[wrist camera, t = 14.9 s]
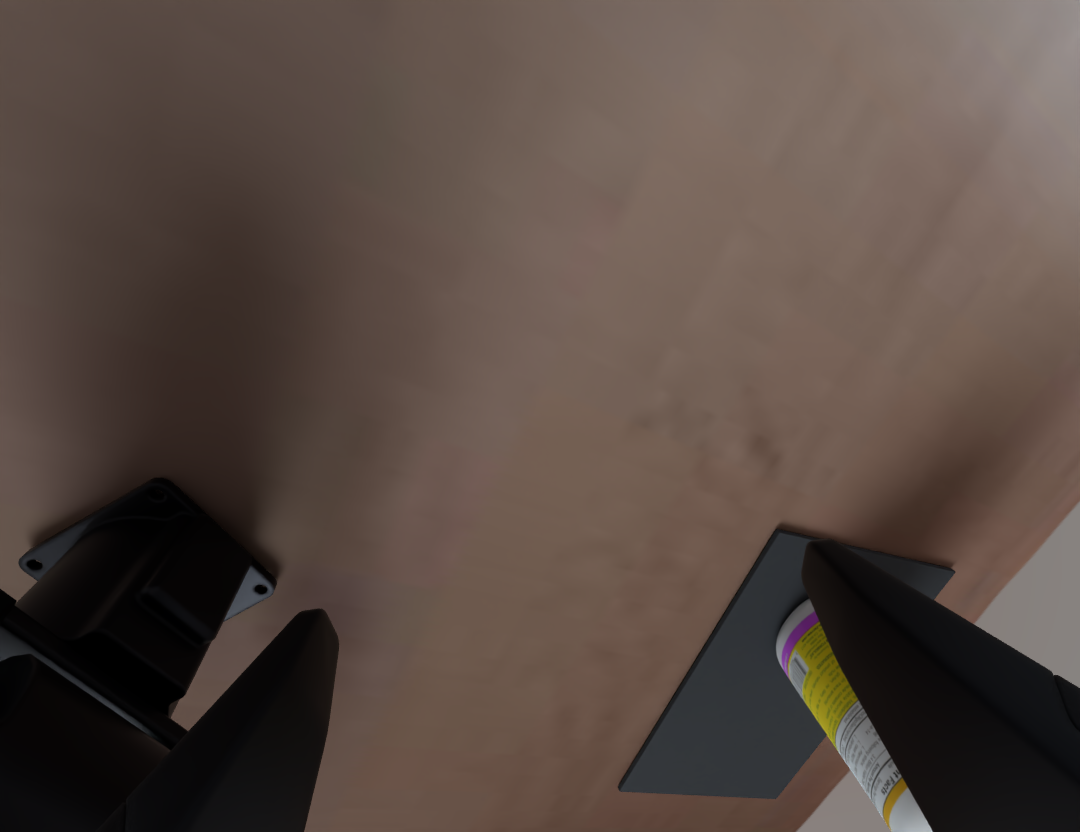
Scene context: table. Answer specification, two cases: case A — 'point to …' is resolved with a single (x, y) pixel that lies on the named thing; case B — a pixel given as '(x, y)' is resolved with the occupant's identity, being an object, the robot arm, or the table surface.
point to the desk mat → (749, 689)
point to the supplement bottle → (844, 718)
